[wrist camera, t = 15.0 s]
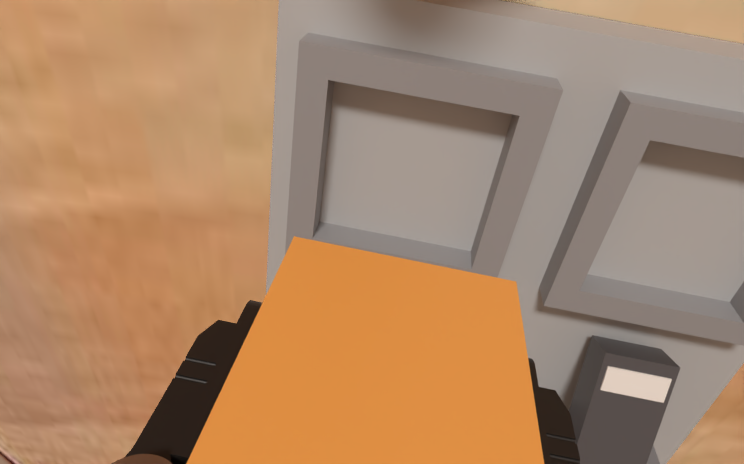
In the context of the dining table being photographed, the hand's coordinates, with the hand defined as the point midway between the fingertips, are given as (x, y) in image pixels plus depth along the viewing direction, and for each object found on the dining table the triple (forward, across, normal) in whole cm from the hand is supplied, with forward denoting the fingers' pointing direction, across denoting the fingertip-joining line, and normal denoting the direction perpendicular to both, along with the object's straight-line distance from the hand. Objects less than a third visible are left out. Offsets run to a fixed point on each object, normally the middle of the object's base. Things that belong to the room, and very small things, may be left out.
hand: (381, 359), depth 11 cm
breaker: (+6, -10, +11) cm, 16 cm away
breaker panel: (+12, -5, +6) cm, 15 cm away
